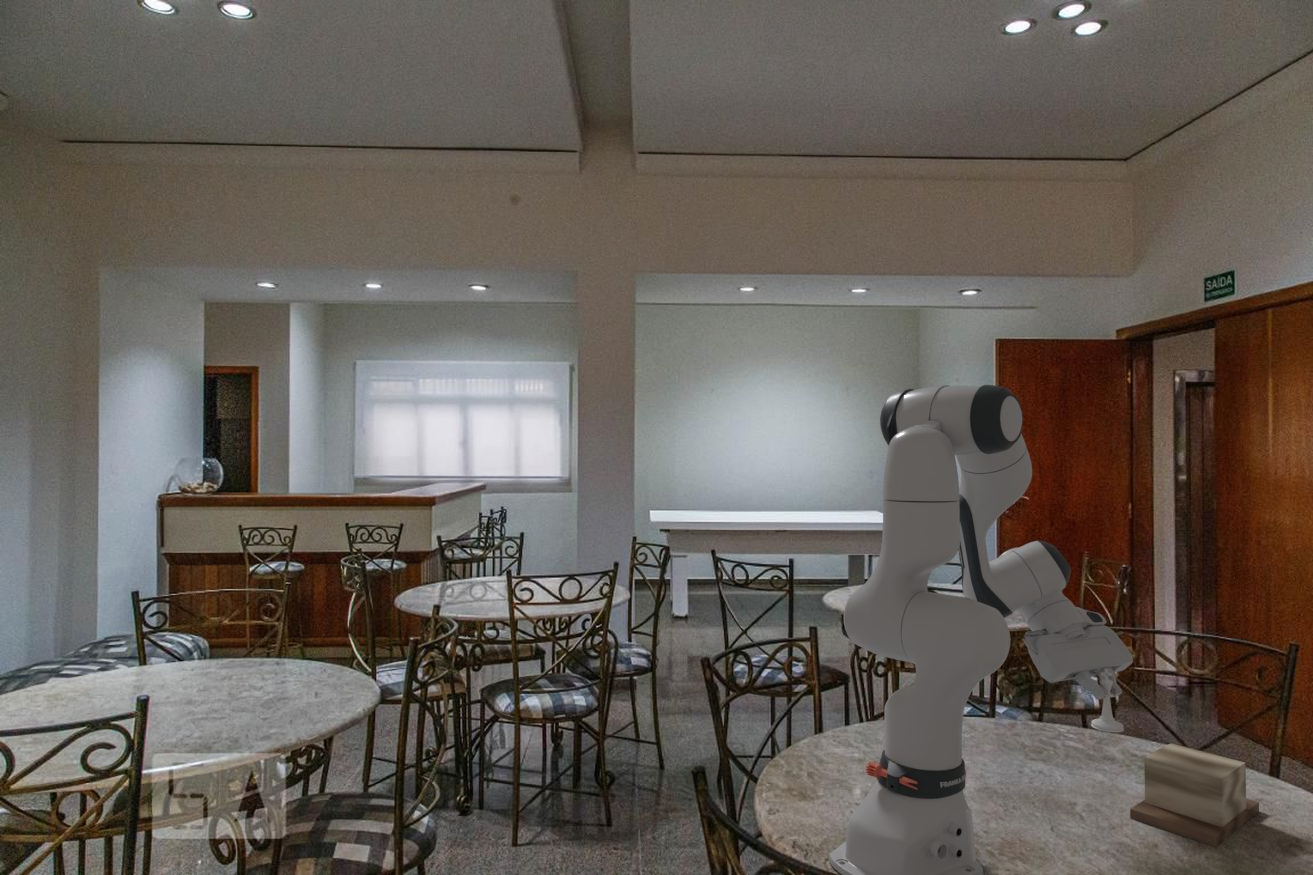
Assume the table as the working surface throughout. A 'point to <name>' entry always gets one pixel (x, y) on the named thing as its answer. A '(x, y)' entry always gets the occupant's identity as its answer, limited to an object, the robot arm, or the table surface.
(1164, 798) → the walnut base
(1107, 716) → the chess piece
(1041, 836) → the table surface
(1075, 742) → the table surface
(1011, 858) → the table surface
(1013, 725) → the table surface
